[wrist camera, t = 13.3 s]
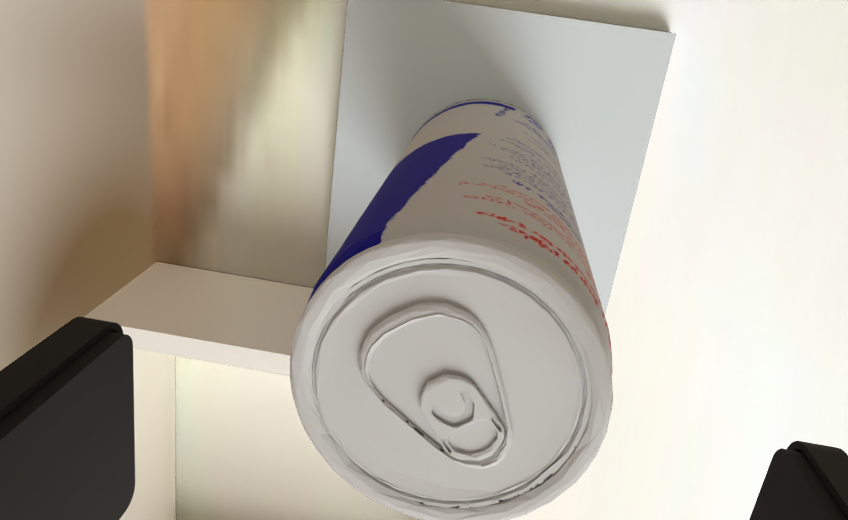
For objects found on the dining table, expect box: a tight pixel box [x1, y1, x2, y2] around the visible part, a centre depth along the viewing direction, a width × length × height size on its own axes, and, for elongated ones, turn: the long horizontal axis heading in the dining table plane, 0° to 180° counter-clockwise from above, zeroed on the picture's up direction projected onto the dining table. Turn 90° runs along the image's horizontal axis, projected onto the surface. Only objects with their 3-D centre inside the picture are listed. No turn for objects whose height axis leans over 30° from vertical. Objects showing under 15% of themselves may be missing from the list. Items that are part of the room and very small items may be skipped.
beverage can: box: [290, 99, 613, 520], centre depth 18 cm, size 6×6×15 cm
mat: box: [325, 0, 676, 315], centre depth 26 cm, size 11×11×1 cm
